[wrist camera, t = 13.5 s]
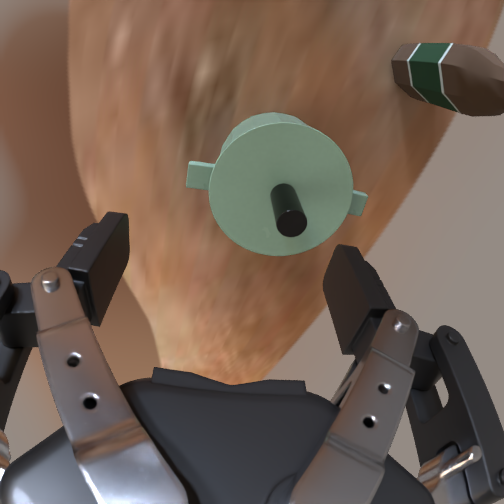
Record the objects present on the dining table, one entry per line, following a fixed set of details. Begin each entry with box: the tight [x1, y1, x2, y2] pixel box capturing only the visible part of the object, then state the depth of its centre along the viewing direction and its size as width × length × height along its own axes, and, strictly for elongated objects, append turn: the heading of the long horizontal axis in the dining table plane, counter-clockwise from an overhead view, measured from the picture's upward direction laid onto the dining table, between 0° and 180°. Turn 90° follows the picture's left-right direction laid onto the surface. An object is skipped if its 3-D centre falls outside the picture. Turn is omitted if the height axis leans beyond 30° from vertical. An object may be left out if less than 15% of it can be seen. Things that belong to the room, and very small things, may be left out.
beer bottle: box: [391, 43, 504, 116], centre depth 18 cm, size 8×8×24 cm
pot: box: [186, 112, 368, 216], centre depth 32 cm, size 13×18×10 cm
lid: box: [209, 122, 353, 256], centre depth 26 cm, size 14×14×7 cm
